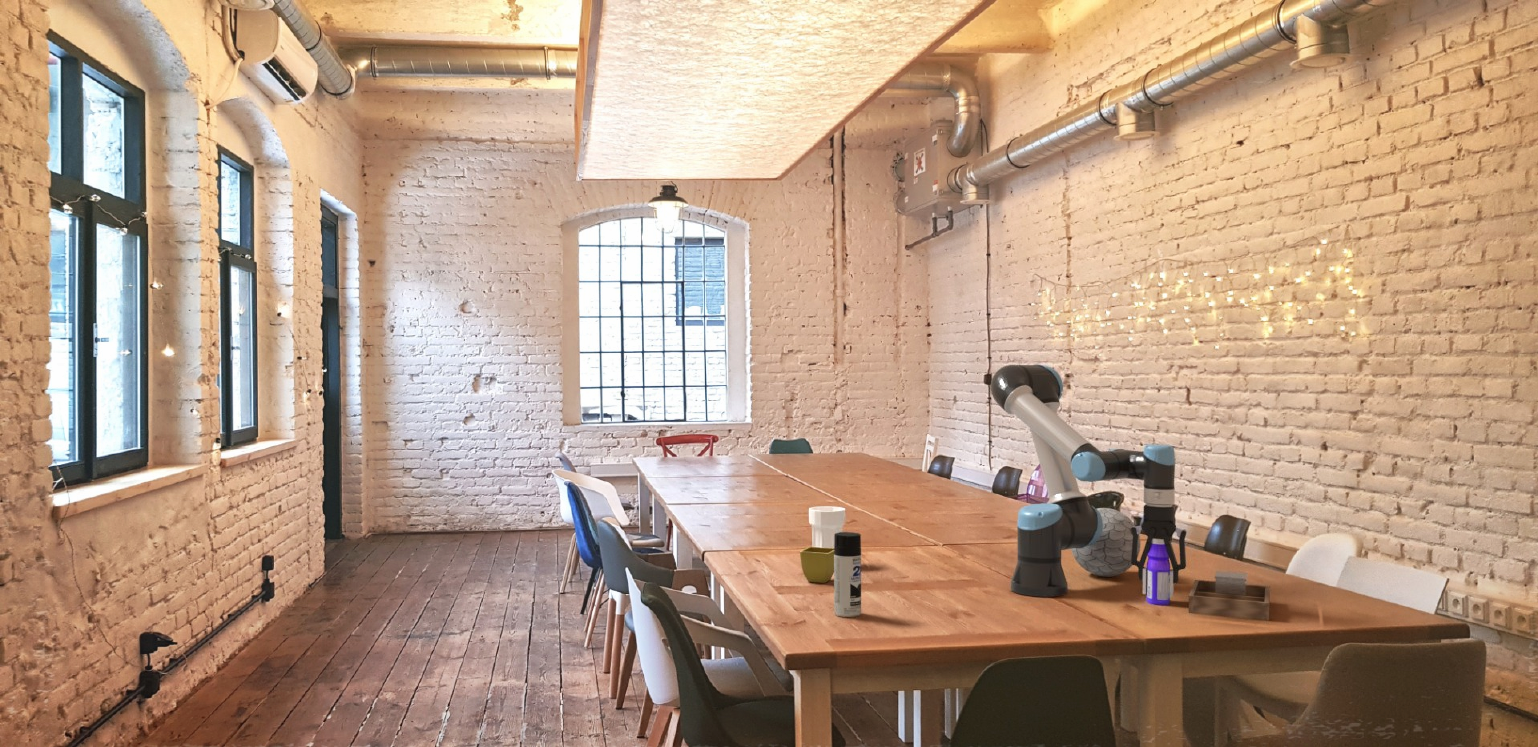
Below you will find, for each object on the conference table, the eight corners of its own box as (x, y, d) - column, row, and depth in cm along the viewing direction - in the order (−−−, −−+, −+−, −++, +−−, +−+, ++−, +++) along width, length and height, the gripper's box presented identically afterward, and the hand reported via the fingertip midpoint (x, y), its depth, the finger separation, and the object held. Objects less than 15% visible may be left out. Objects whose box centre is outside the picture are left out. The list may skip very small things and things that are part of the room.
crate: (1188, 615, 264) (1188, 595, 264) (1194, 598, 284) (1195, 579, 284) (1268, 623, 256) (1269, 603, 256) (1269, 605, 276) (1269, 586, 276)
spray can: (853, 618, 259) (853, 536, 258) (828, 615, 262) (829, 534, 262) (865, 613, 264) (866, 533, 264) (841, 610, 268) (842, 530, 268)
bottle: (1172, 608, 271) (1172, 540, 271) (1148, 607, 272) (1149, 539, 272) (1167, 602, 278) (1168, 536, 278) (1144, 601, 280) (1145, 535, 279)
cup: (846, 568, 321) (846, 511, 321) (808, 568, 322) (809, 511, 321) (844, 561, 333) (844, 506, 333) (808, 561, 333) (808, 506, 333)
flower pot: (798, 582, 301) (799, 550, 301) (809, 577, 309) (809, 546, 309) (828, 585, 298) (828, 553, 298) (838, 579, 306) (838, 548, 306)
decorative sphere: (1114, 585, 299) (1115, 514, 299) (1055, 574, 314) (1056, 507, 314) (1153, 577, 311) (1154, 509, 311) (1095, 566, 327) (1095, 501, 327)
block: (1214, 605, 272) (1214, 576, 272) (1216, 598, 280) (1216, 570, 280) (1246, 608, 269) (1246, 578, 269) (1246, 601, 277) (1247, 572, 277)
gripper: (1118, 504, 276) (1118, 593, 276) (1197, 508, 268) (1196, 600, 268) (1122, 500, 283) (1121, 587, 283) (1199, 505, 274) (1198, 594, 275)
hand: (1158, 593), depth 275 cm, fingers closed on bottle, 6 cm apart
